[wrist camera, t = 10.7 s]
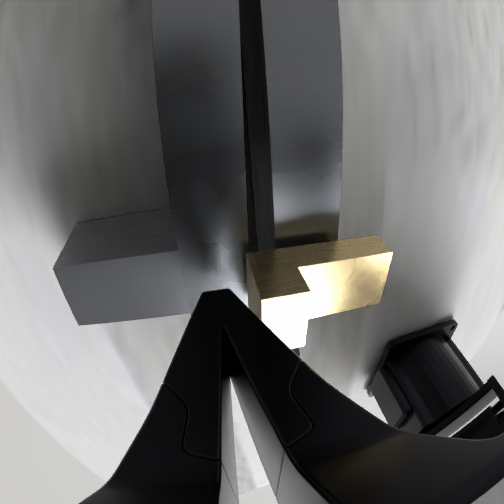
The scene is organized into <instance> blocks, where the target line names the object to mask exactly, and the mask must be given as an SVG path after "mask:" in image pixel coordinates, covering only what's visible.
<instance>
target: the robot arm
mask: <svg viewBox="0 0 504 504" xmlns="http://www.w3.org/2000/svg"><path fill="white" fill-rule="evenodd" d="M457 325H458V324H457V322H456V321H455V320H454V319H453V320H450V321H447V322H444V323H442V324H439V325H436V326H433V327H431V328H428V329H425V330H422V331H419V332H416V333H413V334H410V335H407V336H404V337H401V338H398V339H395V340H393V341H391V342H390V343H389V344H388V345H387V346H386V349H385V351H384V354H383V356H382V359H381V361H380V363H379V366H378V368H377V370H376V373H375V375H374V377H373V379H372V382H371V384H370V386H369V388H368V390H367V393H368V395H369V397H372V396H374V397H375V399H376V401H377V403H378V405H379V407H380V409H381V411H382V413H383V415H384V416H385V418H386V420H387V422H388V424H387V423H385V422H383V421H382V420H380V419H379V418H377V417H376V416H374V415H373V414H371V413H370V412H368V411H367V410H365V409H364V408H362V407H361V406H359V405H358V404H356V403H355V402H354V401H352V400H351V399H349V398H348V397H346V396H345V395H344V394H342V393H341V392H339V391H338V390H337V389H335V388H334V387H333V386H331V385H330V384H329V383H327V382H326V381H325V380H324V379H323V378H322V377H320V376H319V375H318V374H317V373H316V372H315V371H314V370H313V369H311V368H310V367H309V366H308V365H307V364H306V363H305V362H304V361H302V360H301V358H300V357H299V356H298V355H297V354H296V353H295V352H293V351H292V350H291V349H290V348H289V347H288V346H287V345H286V344H285V343H284V342H283V341H282V340H281V339H280V338H279V337H278V336H277V335H276V334H275V333H274V332H273V331H272V330H271V329H270V328H269V327H268V326H267V325H266V324H265V323H264V322H263V321H262V320H261V319H260V318H259V317H257V316H256V315H255V314H254V313H253V312H252V311H251V310H250V309H249V308H248V307H247V306H246V305H245V304H244V303H243V302H242V301H241V300H240V299H239V298H238V297H237V296H236V295H235V294H234V293H233V292H232V291H231V290H230V289H229V288H226V289H219V290H212V291H205V292H202V293H201V295H200V298H199V300H198V302H197V304H196V307H195V309H194V311H193V313H192V316H191V318H190V320H189V322H188V325H187V327H186V329H185V332H184V334H183V336H182V338H181V341H180V343H179V345H178V348H177V350H176V352H175V355H174V357H173V359H172V362H171V364H170V366H169V369H168V371H167V373H166V376H165V378H164V381H163V383H164V384H162V385H161V387H160V390H159V392H158V394H157V397H156V399H155V401H154V403H153V405H152V408H151V410H150V412H149V414H148V416H147V417H146V419H145V421H144V423H143V425H142V427H141V428H140V430H139V432H138V434H137V435H136V437H135V439H134V440H133V442H132V444H131V446H130V447H129V449H128V451H127V452H126V454H125V456H124V458H123V459H122V461H121V463H120V464H119V466H118V468H117V469H116V471H115V473H114V474H113V475H112V477H111V478H110V479H109V480H108V481H107V483H106V484H105V485H104V486H103V487H101V488H100V489H99V490H98V491H96V492H95V493H93V494H92V495H90V496H89V497H87V498H86V499H85V500H83V501H82V502H80V503H79V504H239V498H238V486H237V474H236V460H235V447H234V432H233V417H232V401H231V383H230V377H231V380H232V383H233V386H234V389H235V392H236V395H237V397H238V400H239V403H240V406H241V409H242V412H243V414H244V417H245V420H246V423H247V425H248V428H249V431H250V433H251V436H252V439H253V441H254V444H255V447H256V449H257V452H258V454H259V457H260V460H261V462H262V465H263V467H264V470H265V472H266V475H267V477H268V480H269V482H270V485H271V487H272V490H273V492H274V494H275V496H276V499H277V502H278V504H504V390H503V388H502V387H501V386H500V384H499V383H498V381H497V380H496V379H495V377H494V376H493V375H492V376H491V377H490V378H489V379H488V380H487V381H488V382H487V383H486V384H483V382H482V381H481V379H480V378H479V377H478V375H477V374H476V372H475V371H474V370H473V368H472V367H471V365H470V364H469V362H468V361H467V360H466V358H465V357H464V356H463V354H462V353H461V352H460V350H459V349H458V348H457V346H456V345H455V344H454V342H453V341H452V340H451V337H452V335H453V333H454V331H455V329H456V327H457ZM497 396H498V398H499V399H500V400H499V401H498V402H497V403H496V404H495V405H494V406H493V407H491V406H489V407H488V408H487V409H486V410H484V411H483V412H482V413H481V414H480V415H479V416H477V417H476V418H475V419H474V420H472V421H471V422H470V423H469V424H467V425H466V426H465V427H464V428H462V429H461V430H460V431H458V432H457V433H456V434H454V435H453V436H452V437H448V436H449V435H451V434H452V433H453V432H455V431H456V430H457V429H459V428H460V427H461V426H463V425H464V424H465V423H466V422H468V421H469V420H470V419H471V418H473V417H474V416H475V415H476V414H477V413H479V412H480V411H481V410H482V409H483V408H484V407H486V406H487V405H488V404H489V403H490V402H491V401H492V400H494V399H495V398H496V397H497Z"/></svg>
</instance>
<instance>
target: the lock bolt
mask: <svg viewBox="0 0 504 504" xmlns="http://www.w3.org/2000/svg"><path fill="white" fill-rule="evenodd" d="M245 254H246V274H247V293H248V307H249V309H250V310H251V311H252V312H253V313H254V314H255V315H256V316H257V317H259V318H260V319H261V320H262V321H263V322H264V323H265V324H266V325H267V326H268V327H269V328H270V329H271V330H272V331H273V332H274V333H275V334H276V335H277V336H278V337H279V338H280V339H281V340H282V341H283V342H284V343H285V344H286V345H287V346H288V347H289V348H290V349H293V348H298V347H302V346H305V339H306V331H307V323H308V319H310V318H315V317H320V316H325V315H330V314H334V313H339V312H343V311H348V310H352V309H357V308H361V307H365V306H370V305H374V304H378V303H380V300H381V297H382V293H383V290H384V286H385V282H386V279H387V275H388V271H389V267H390V263H391V259H392V254H393V251H392V250H391V249H390V248H389V247H388V246H387V245H386V244H385V243H384V242H383V241H382V240H381V239H380V238H379V237H378V236H377V235H374V236H367V237H360V238H353V239H345V240H338V241H331V242H323V243H316V244H309V245H301V246H294V247H287V248H279V249H272V250H265V251H258V252H250V253H245Z"/></svg>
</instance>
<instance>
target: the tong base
mask: <svg viewBox="0 0 504 504" xmlns="http://www.w3.org/2000/svg"><path fill="white" fill-rule="evenodd" d="M151 14H152V37H153V54H154V69H155V81H156V93H157V104H158V114H159V123H160V132H161V141H162V149H163V157H164V164H165V172H166V179H167V186H168V193H169V199H170V206H171V208H166V209H159V210H152V211H146V212H139V213H133V214H127V215H120V216H114V217H108V218H102V219H97V220H91V221H85V222H80V223H77V225H76V226H75V228H74V230H73V231H72V233H71V235H70V237H69V239H68V240H67V242H66V244H65V246H64V248H63V250H62V251H61V253H60V255H59V257H58V259H57V261H56V263H55V265H54V267H53V270H54V273H55V275H56V277H57V280H58V282H59V284H60V287H61V289H62V291H63V293H64V296H65V298H66V300H67V302H68V304H69V306H70V308H71V310H72V313H73V315H74V317H75V319H76V321H77V323H78V325H89V324H100V323H110V322H120V321H129V320H138V319H147V318H155V317H163V316H171V315H179V314H187V313H191V316H192V313H193V311H194V309H195V307H196V304H197V302H198V300H199V298H200V295H201V293H202V292H205V291H212V290H219V289H226V288H229V289H230V290H231V291H232V292H233V293H234V294H235V295H236V296H237V297H238V298H239V299H240V300H241V301H242V302H243V303H244V304H245V305H246V306H247V307H248V293H247V274H246V254H245V253H249V241H248V218H247V194H246V171H245V146H244V122H243V97H242V72H241V46H240V20H239V0H151ZM248 308H249V307H248Z"/></svg>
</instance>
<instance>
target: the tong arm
mask: <svg viewBox="0 0 504 504" xmlns="http://www.w3.org/2000/svg"><path fill="white" fill-rule="evenodd" d="M239 20H240V32H241V44H242V56H243V68H244V80H245V93H246V105H247V118H248V130H249V143H250V156H251V169H252V182H253V195H254V209H255V222H256V236H257V249H258V251H265V250H272V249H279V248H287V247H294V246H301V245H309V244H316V243H323V242H331V241H337V237H338V224H339V209H340V191H341V168H342V121H343V106H342V60H341V39H340V23H339V9H338V0H239ZM320 317H321V316H320ZM315 318H317V317H315ZM310 319H312V318H310ZM291 350H292V351H293V352H295V353H296V354H297V355H298V356H300V352H299V348H293V349H291Z"/></svg>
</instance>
